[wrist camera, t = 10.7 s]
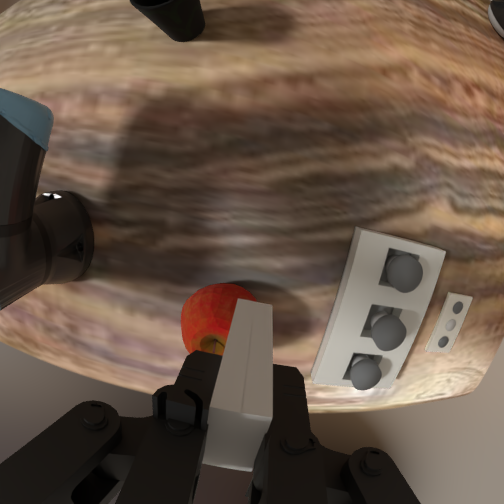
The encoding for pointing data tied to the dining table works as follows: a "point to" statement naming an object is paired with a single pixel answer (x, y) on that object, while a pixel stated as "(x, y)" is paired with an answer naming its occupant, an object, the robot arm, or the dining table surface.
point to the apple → (210, 317)
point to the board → (373, 307)
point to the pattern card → (449, 323)
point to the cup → (174, 17)
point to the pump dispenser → (497, 15)
